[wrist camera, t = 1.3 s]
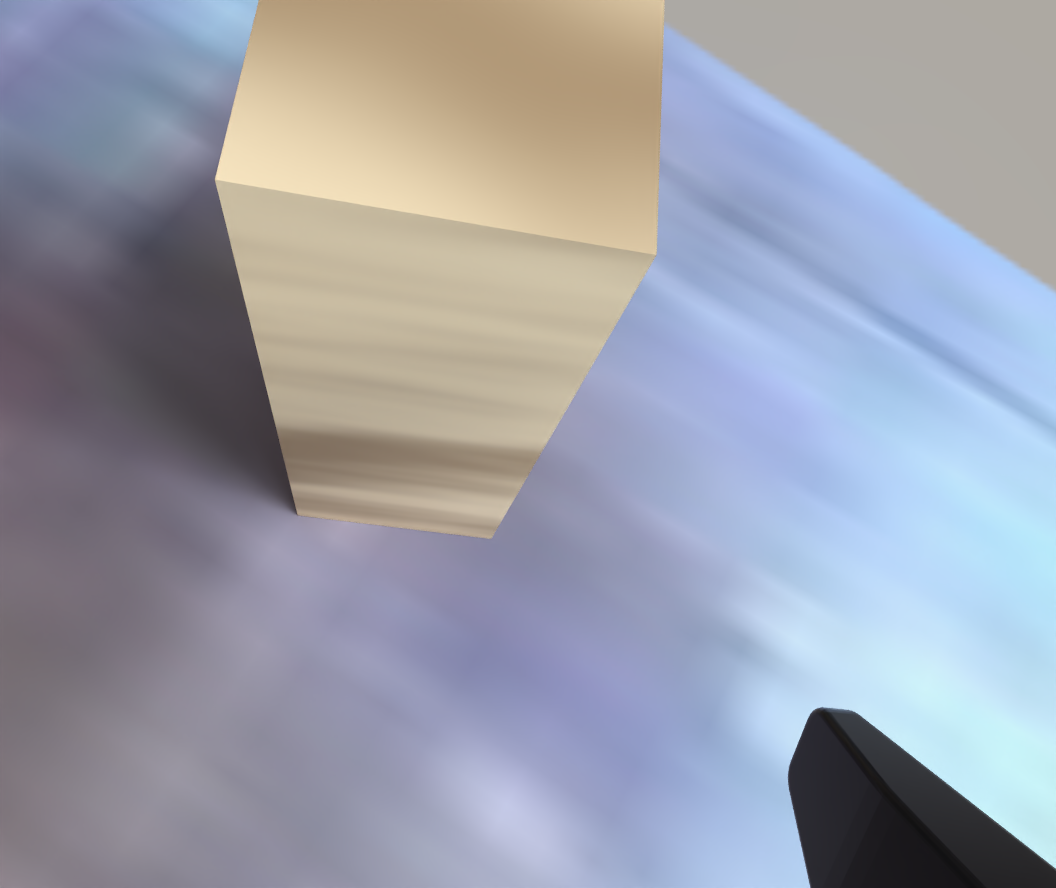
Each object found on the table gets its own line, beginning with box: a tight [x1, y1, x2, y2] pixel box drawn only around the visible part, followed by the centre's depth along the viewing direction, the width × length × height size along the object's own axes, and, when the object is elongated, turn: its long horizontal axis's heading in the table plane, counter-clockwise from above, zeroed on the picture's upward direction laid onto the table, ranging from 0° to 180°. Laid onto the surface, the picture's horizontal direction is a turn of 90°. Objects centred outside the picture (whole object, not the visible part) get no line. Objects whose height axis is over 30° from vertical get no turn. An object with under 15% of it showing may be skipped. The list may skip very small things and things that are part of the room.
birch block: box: [215, 0, 665, 539], centre depth 17 cm, size 5×5×14 cm
